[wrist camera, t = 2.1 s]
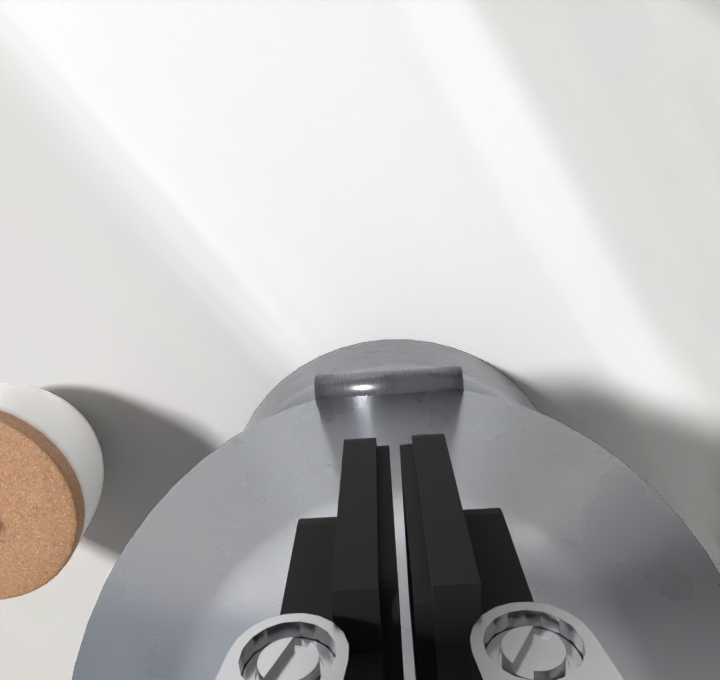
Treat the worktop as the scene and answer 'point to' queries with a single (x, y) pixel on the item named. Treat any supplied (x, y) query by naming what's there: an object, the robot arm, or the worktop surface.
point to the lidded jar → (43, 485)
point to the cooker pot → (388, 357)
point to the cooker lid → (476, 490)
